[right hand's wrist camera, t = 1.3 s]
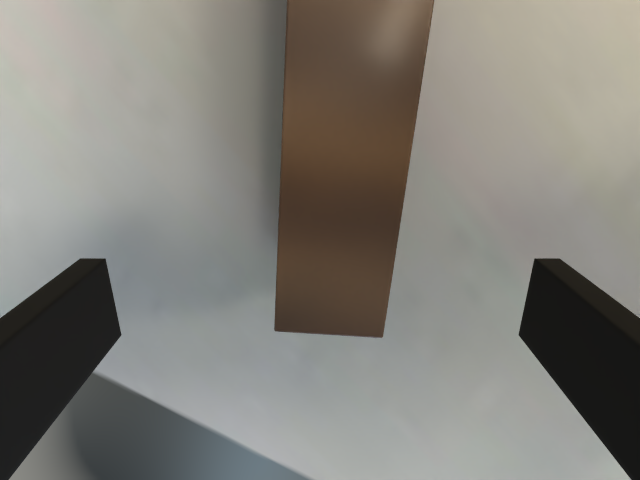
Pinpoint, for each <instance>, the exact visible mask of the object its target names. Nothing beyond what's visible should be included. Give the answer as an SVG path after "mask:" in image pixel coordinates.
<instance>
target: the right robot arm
mask: <svg viewBox="0 0 640 480" xmlns="http://www.w3.org/2000/svg"><path fill="white" fill-rule="evenodd" d="M120 336H121V331H120V326H119V321H118V316H117V312H116V307H115V302H114V297H113V292H112V288H111V283H110V278H109V273H108V268H107V264H106V259H79V260H78V261H77V262H75V263H74V264H72V265H71V266H70V267H68V268H67V269H66V270H64V271H63V272H62V273H60V274H59V275H58V276H56V277H55V278H54V279H52V280H51V281H50V282H48V283H47V284H46V285H44V286H43V287H42V288H40V289H39V290H38V291H36V292H35V293H34V294H32V295H31V296H30V297H28V298H27V299H26V300H24V301H23V302H21V303H20V304H19V305H17V306H16V307H15V308H13V309H12V310H11V311H9V312H8V313H7V314H5V315H4V316H3V317H1V318H0V480H9V478H10V477H11V476H12V474H13V473H14V472H15V471H16V469H17V468H18V467H19V466H20V464H21V463H22V462H23V460H24V459H25V458H26V457H27V455H28V454H29V453H30V451H31V450H32V449H33V448H34V446H35V445H36V444H37V443H38V441H39V440H40V439H41V437H42V436H43V435H44V434H45V432H46V431H47V430H48V428H49V427H50V426H51V425H52V423H53V422H54V421H55V419H56V418H57V417H58V416H59V414H60V413H61V412H62V410H63V409H64V408H65V407H66V405H67V404H68V403H69V401H70V400H71V399H72V398H73V396H74V395H75V394H76V392H77V391H78V390H79V389H80V387H81V386H82V385H83V383H84V382H85V381H86V380H87V378H88V377H89V376H90V375H91V373H92V372H93V371H94V369H95V368H96V367H97V366H98V364H99V363H100V362H101V360H102V359H103V358H104V357H105V355H106V354H107V353H108V351H109V350H110V349H111V348H112V346H113V345H114V344H115V342H116V341H117V340H118V339H119V337H120ZM519 336H520V337H521V339H522V340H523V341H524V342H525V344H526V345H527V346H528V348H529V349H530V350H531V351H532V353H533V354H534V355H535V357H536V358H537V359H538V360H539V362H540V363H541V364H542V366H543V367H544V368H545V369H546V371H547V372H548V373H549V375H550V376H551V377H552V378H553V380H554V381H555V382H556V384H557V385H558V386H559V387H560V389H561V390H562V391H563V392H564V394H565V395H566V396H567V398H568V399H569V400H570V401H571V403H572V404H573V405H574V407H575V408H576V409H577V410H578V412H579V413H580V414H581V416H582V417H583V418H584V419H585V421H586V422H587V423H588V425H589V426H590V427H591V428H592V430H593V431H594V432H595V434H596V435H597V436H598V437H599V439H600V440H601V441H602V443H603V444H604V445H605V446H606V448H607V449H608V450H609V451H610V453H611V454H612V455H613V457H614V458H615V459H616V460H617V462H618V463H619V464H620V466H621V467H622V468H623V469H624V471H625V472H626V473H627V475H628V476H629V477H630V478H631V480H640V318H639V317H637V316H636V315H635V314H633V313H632V312H631V311H629V310H628V309H627V308H625V307H624V306H623V305H621V304H620V303H619V302H617V301H616V300H614V299H613V298H612V297H610V296H609V295H608V294H606V293H605V292H604V291H602V290H601V289H600V288H598V287H597V286H596V285H594V284H593V283H592V282H590V281H589V280H588V279H586V278H585V277H584V276H582V275H581V274H580V273H578V272H577V271H576V270H574V269H573V268H572V267H570V266H569V265H568V264H566V263H565V262H563V261H562V260H561V259H534V264H533V268H532V273H531V278H530V283H529V288H528V292H527V297H526V302H525V307H524V312H523V316H522V321H521V326H520V331H519Z"/></svg>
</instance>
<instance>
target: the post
mask: <svg viewBox="0 0 640 480" xmlns="http://www.w3.org/2000/svg"><path fill="white" fill-rule="evenodd" d="M433 5H434V0H287V16H286V42H285V68H284V94H283V120H282V145H281V171H280V197H279V223H278V249H277V275H276V301H275V327H274V330H275V331H278V332H294V333H310V334H326V335H342V336H359V337H375V338H382V337H383V333H384V327H385V320H386V313H387V307H388V300H389V294H390V287H391V281H392V274H393V268H394V261H395V254H396V248H397V241H398V235H399V228H400V222H401V215H402V209H403V202H404V195H405V189H406V182H407V176H408V169H409V163H410V156H411V150H412V143H413V136H414V130H415V123H416V117H417V110H418V104H419V97H420V91H421V84H422V77H423V71H424V64H425V58H426V51H427V45H428V38H429V32H430V25H431V18H432V12H433Z"/></svg>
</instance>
